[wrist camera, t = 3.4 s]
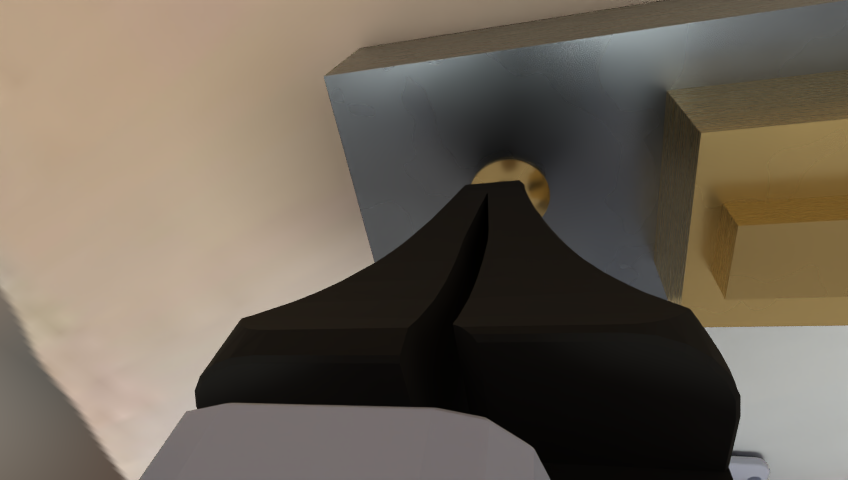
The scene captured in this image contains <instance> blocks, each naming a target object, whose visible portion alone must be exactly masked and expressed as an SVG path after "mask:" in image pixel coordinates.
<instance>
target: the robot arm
mask: <svg viewBox="0 0 848 480" xmlns="http://www.w3.org/2000/svg"><path fill="white" fill-rule="evenodd" d="M195 398H196V407H197V409H196V410H191V411H187V412H186V413H185V414H184V415H183V417H182V418H181V420H180V421H179V423H178V424H177V426H176V427H175V428H174V430H173V431H172V433H171V434H170V436H169V437H168V439H167V440H166V441H165V443H164V444H163V446H162V447H161V449H160V450H159V452H158V453H157V454H156V456H155V457H154V459H153V460H152V462H151V463H150V465H149V466H148V467H147V469H146V470H145V472H144V473H143V475H142V476H141V478H140V479H139V480H768V478H769V474H770V469H769V467H768V464H767V462H766V461H765V460H763V459H761V458H757V457H741V456H731V455H732V451H733V446H734V442H735V438H736V433H737V429H738V424H739V420H740V394H739V392H738V390H737V387H736V384H735V381H734V379H733V376H732V374H731V372H730V369H729V367H728V366H727V364H726V362H725V360H724V358H723V356H722V355H721V353H720V351H719V350H718V348H717V347H716V345H715V344H714V342H713V341H712V339H711V337H710V336H709V334H708V333H707V332H706V330H705V329H704V327H703V326H702V324H701V323H700V321H699V320H698V319H697V317H696V316H695V314H694V313H693V312H692V310H691V309H689V308H687V307H684V306H682V305H679V304H676V303H673V302H670V301H668V300H665V299H662V298H659V297H657V296H654V295H651V294H648V293H645V292H643V291H641V290H638V289H636V288H634V287H632V286H630V285H628V284H626V283H624V282H622V281H620V280H617V279H616V278H614V277H612V276H610V275H608V274H607V273H605V272H603V271H601V270H600V269H598V268H597V267H595V266H594V265H592V264H590V263H589V262H587V261H586V260H584V259H583V258H582V257H580V256H579V255H578V254H577V253H575V252H574V251H573V250H572V249H571V248H570V247H568V246H567V245H566V244H565V243H564V242H563V241H562V240H561V239H560V238H559V237H558V236H557V235H556V234H555V232H554V231H553V230H552V229H551V228H550V227H549V226H548V224H547V223H546V222H545V221H544V219H543V218H542V217H541V215H540V214H539V213H538V211H537V210H536V208H535V207H534V205H533V204H532V202H531V200H530V199H529V197H528V195H527V193H526V190H525V184H523V183H522V182H521V181H520V180H515V181H503V182H491V183H480V184H468V185H465V186H464V187H463V188H462V189H461V190H460V191H459V192H458V193H457V194H456V195H455V196H454V197H453V198H452V199H451V200H450V201H449V202H448V203H447V204H446V205H445V206H444V207H443V208H442V209H441V210H440V211H439V212H438V213H437V214H436V215H435V216H434V217H433V218H432V219H431V220H430V221H429V222H428V223H426V224H425V225H424V226H423V227H422V228H421V229H419V230H418V231H417V232H416V233H415V234H414V235H413V236H411V237H410V238H409V239H408V240H407V241H405V242H404V243H403V244H401V245H400V246H399V247H397V248H396V249H395V250H393V251H392V252H390V253H389V254H387V255H386V256H384V257H383V258H381V259H380V260H378V261H377V262H375V263H374V264H372V265H370V266H368V267H366V268H365V269H363V270H361V271H359V272H357V273H356V274H354V275H352V276H350V277H348V278H346V279H345V280H343V281H341V282H339V283H337V284H335V285H332V286H330V287H328V288H326V289H324V290H321V291H319V292H317V293H314V294H312V295H309V296H307V297H305V298H302V299H299V300H297V301H294V302H292V303H289V304H286V305H283V306H280V307H277V308H274V309H271V310H267V311H264V312H261V313H258V314H255V315H252V316H249V317H245V318H242V319H241V320H240V321H239V323H238V324H237V325H236V327H235V328H234V330H233V331H232V332H231V334H230V335H229V337H228V338H227V339H226V341H225V342H224V344H223V345H222V346H221V348H220V349H219V351H218V352H217V353H216V355H215V356H214V358H213V359H212V360H211V362H210V363H209V365H208V366H207V367H206V369H205V370H204V372H203V373H202V374H201V376H200V378H199V381H198V383H197V386H196V389H195Z"/></svg>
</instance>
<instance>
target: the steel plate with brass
mask: <svg viewBox="0 0 848 480" xmlns="http://www.w3.org/2000/svg"><path fill="white" fill-rule="evenodd" d="M840 70H848V0H665V1H659V2H652V3H646V4H639V5H633V6H627V7H620V8H614V9H608V10H601V11H595V12H589V13H582V14H576V15H570V16H563V17H557V18H550V19H544V20H538V21H531V22H525V23H519V24H512V25H506V26H500V27H493V28H487V29H481V30H474V31H468V32H462V33H455V34H449V35H442V36H436V37H430V38H423V39H417V40H411V41H404V42H398V43H392V44H385V45H379V46H373V47H366V48H360V49H358V50H357V51H356V52H354V53H353V54H352V55H351V56H349V57H348V58H347V59H345V60H344V61H343V62H342V63H340V64H339V65H338V66H336V67H335V68H334V69H333V70H331V71H330V72H329V73H327V74H326V75H325V76H324V79H325V83H326V87H327V90H328V94H329V98H330V101H331V105H332V109H333V112H334V116H335V120H336V123H337V127H338V130H339V134H340V138H341V141H342V145H343V149H344V152H345V156H346V160H347V163H348V167H349V171H350V174H351V178H352V181H353V185H354V189H355V192H356V196H357V200H358V203H359V207H360V211H361V214H362V218H363V222H364V225H365V229H366V232H367V236H368V240H369V243H370V247H371V251H372V254H373V258H374V262H377V261H378V260H380V259H381V258H383V257H384V256H386V255H387V254H389V253H390V252H392V251H393V250H395V249H396V248H397V247H399V246H400V245H401V244H403V243H404V242H405V241H407V240H408V239H409V238H410V237H411V236H413V235H414V234H415V233H416V232H417V231H418V230H419V229H421V228H422V227H423V226H424V225H425V224H426V223H428V222H429V221H430V220H431V219H432V218H433V217H434V216H435V215H436V214H437V213H438V212H439V211H440V210H441V209H442V208H443V207H444V206H445V205H446V204H447V203H448V202H449V201H450V200H451V199H452V198H453V197H454V196H455V195H456V194H457V193H458V192H459V191H460V190H461V189H462V188H463V187H464V186H465V185H468V184H480V183H491V182H503V181H515V180H520V181H521V182H522V183H523V184H525V190H526V193H527V195H528V197H529V199H530V200H531V202H532V204H533V205H534V207H535V208H536V210H537V211H538V213H539V214H540V215H541V217H542V218H543V219H544V221H545V222H546V223H547V224H548V226H549V227H550V228H551V229H552V230H553V231H554V232H555V234H556V235H557V236H558V237H559V238H560V239H561V240H562V241H563V242H564V243H565V244H566V245H567V246H568V247H570V248H571V249H572V250H573V251H574V252H575V253H577V254H578V255H579V256H580V257H582V258H583V259H584V260H586V261H587V262H589V263H590V264H592V265H594V266H595V267H597V268H598V269H600V270H601V271H603V272H605V273H607V274H608V275H610V276H612V277H614V278H616V279H617V280H620V281H622V282H624V283H626V284H628V285H630V286H632V287H634V288H636V289H638V290H641V291H643V292H645V293H648V294H651V295H654V296H657V297H659V298H662V299H665V300H668V299H667V296H666V293H665V290H664V288H663V285H662V282H661V280H660V277H659V274H658V271H657V269H656V266H655V263H654V250H655V237H656V225H657V212H658V199H659V186H660V173H661V160H662V147H663V134H664V121H665V108H666V95H667V91H670V90H678V89H687V88H695V87H704V86H712V85H721V84H730V83H738V82H747V81H755V80H764V79H772V78H781V77H789V76H798V75H806V74H815V73H823V72H832V71H840Z"/></svg>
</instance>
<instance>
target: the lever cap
mask: <svg viewBox="0 0 848 480" xmlns="http://www.w3.org/2000/svg"><path fill="white" fill-rule="evenodd" d="M654 263H655V266H656V269H657V271H658V274H659V277H660V280H661V282H662V285H663V288H664V290H665V293H666V296H667V299H668V301H670V302H673V303H676V304H679V305H682V306H684V307H687V308H689V309H691V310H692V312H693V313H694V314H695V316H696V317H697V319H698V320H699V321H700V323H701V324H702V326H703V327H755V326H835V325H848V70H840V71H832V72H823V73H815V74H806V75H798V76H789V77H781V78H772V79H764V80H755V81H747V82H738V83H730V84H721V85H712V86H704V87H695V88H687V89H678V90H670V91H667V95H666V108H665V121H664V134H663V147H662V160H661V173H660V186H659V199H658V212H657V225H656V237H655V250H654Z"/></svg>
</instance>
